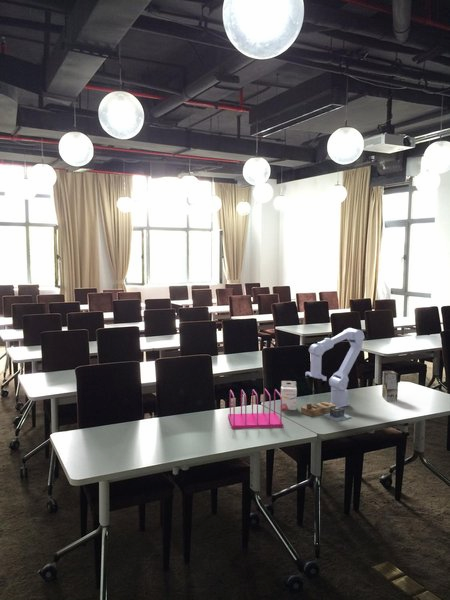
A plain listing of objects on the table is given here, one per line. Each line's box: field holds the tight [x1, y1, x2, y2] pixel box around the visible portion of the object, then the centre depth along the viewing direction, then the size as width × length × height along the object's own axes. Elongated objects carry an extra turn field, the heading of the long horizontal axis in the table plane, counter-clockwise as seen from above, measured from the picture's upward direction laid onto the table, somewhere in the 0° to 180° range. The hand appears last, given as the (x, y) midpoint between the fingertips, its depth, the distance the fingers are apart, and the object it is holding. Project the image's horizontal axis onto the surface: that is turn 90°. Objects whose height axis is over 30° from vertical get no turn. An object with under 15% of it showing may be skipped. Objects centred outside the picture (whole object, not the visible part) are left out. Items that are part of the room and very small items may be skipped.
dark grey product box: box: [329, 407, 346, 418], centre depth 258 cm, size 6×4×4 cm
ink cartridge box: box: [280, 380, 298, 411], centre depth 272 cm, size 9×5×15 cm, turn 84°
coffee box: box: [381, 370, 399, 403], centre depth 290 cm, size 9×6×16 cm
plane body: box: [300, 401, 336, 417], centre depth 267 cm, size 18×8×5 cm, turn 123°
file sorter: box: [227, 388, 284, 430], centre depth 249 cm, size 17×25×16 cm
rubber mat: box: [322, 412, 352, 422], centre depth 259 cm, size 10×10×1 cm
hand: (315, 391), depth 273 cm, fingers open, 7 cm apart
